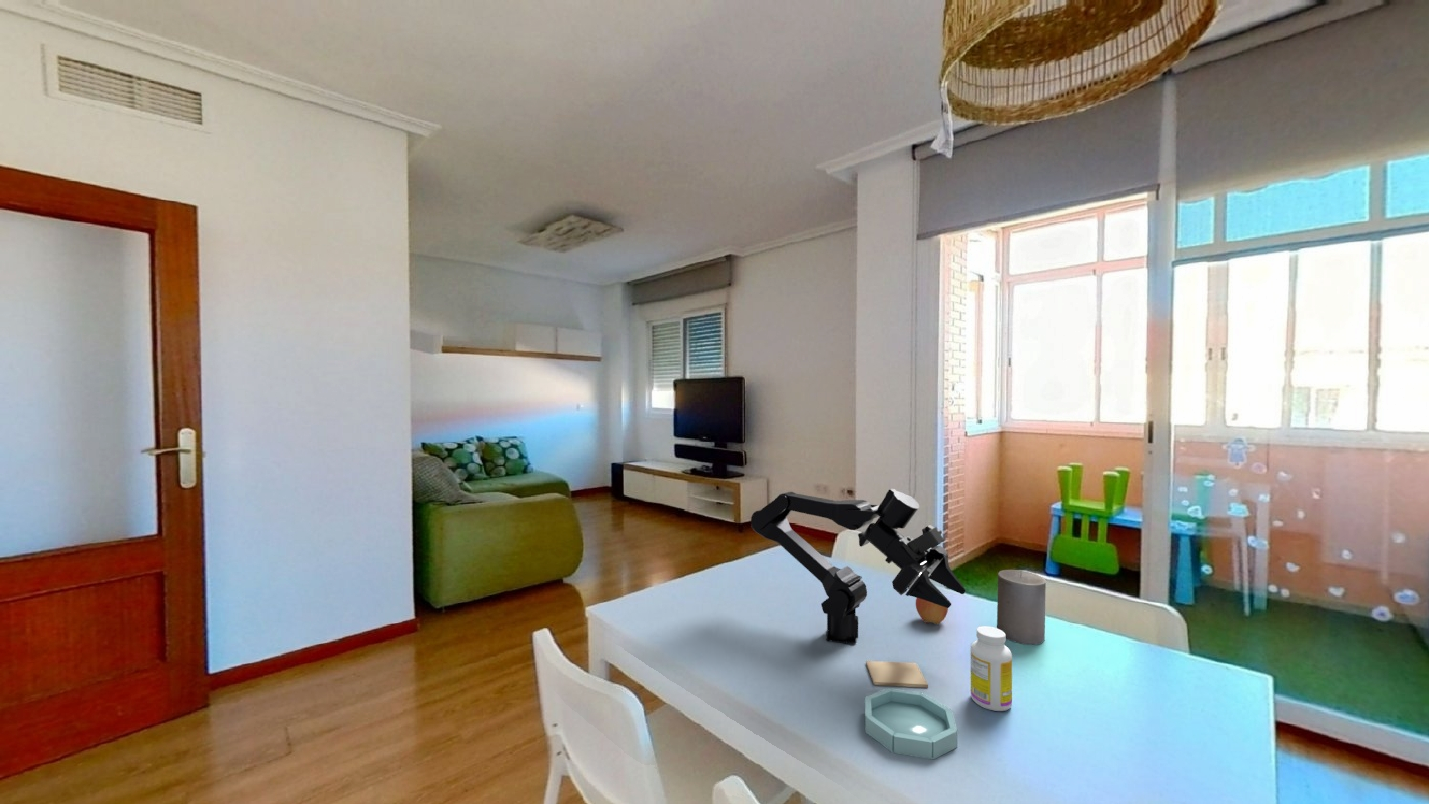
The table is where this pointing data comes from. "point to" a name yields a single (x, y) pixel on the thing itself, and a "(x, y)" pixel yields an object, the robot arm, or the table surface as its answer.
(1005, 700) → the supplement bottle
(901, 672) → the cork mat
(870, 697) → the bowl
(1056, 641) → the table surface
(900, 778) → the table surface
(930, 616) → the apple
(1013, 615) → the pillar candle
